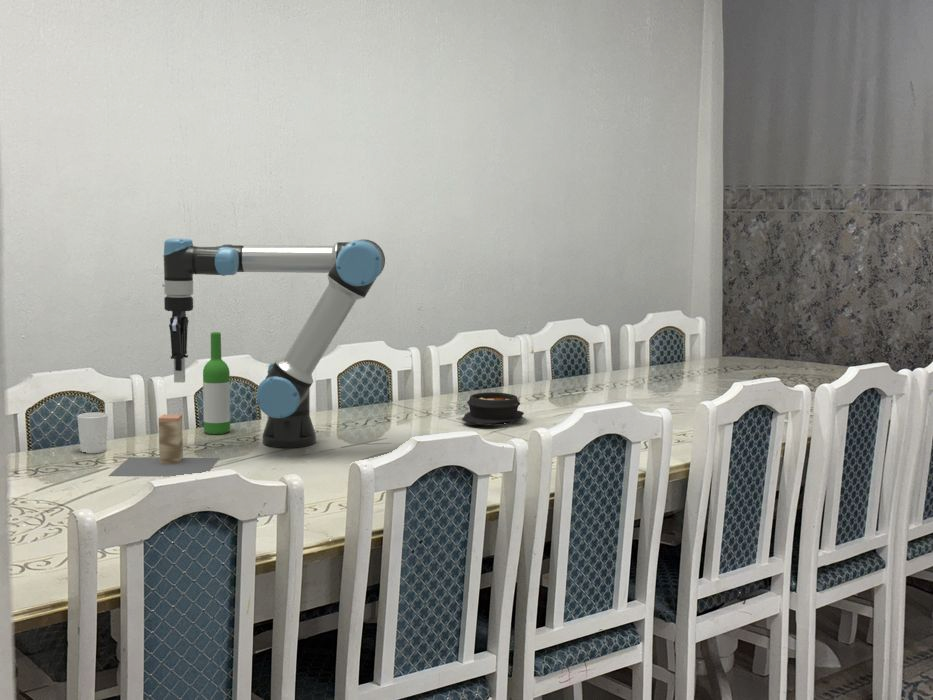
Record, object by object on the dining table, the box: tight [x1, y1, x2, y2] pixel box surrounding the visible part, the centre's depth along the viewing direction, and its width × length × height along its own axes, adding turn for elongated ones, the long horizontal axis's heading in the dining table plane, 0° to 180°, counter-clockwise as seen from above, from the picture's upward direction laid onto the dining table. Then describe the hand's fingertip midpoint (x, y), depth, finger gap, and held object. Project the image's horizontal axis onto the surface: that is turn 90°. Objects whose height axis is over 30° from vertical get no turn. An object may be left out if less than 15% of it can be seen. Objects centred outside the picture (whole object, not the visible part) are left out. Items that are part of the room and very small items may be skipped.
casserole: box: [461, 391, 525, 425], centre depth 346 cm, size 25×19×8 cm
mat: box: [108, 456, 221, 478], centre depth 280 cm, size 24×20×1 cm
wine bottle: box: [202, 331, 231, 435], centre depth 321 cm, size 8×8×30 cm
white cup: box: [77, 412, 109, 454], centre depth 297 cm, size 8×8×10 cm
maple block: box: [158, 413, 184, 463], centre depth 285 cm, size 5×5×12 cm
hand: (179, 381), depth 296 cm, fingers closed
